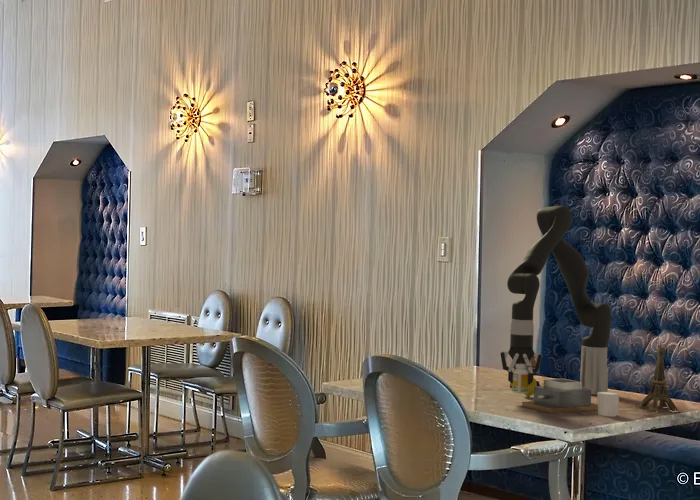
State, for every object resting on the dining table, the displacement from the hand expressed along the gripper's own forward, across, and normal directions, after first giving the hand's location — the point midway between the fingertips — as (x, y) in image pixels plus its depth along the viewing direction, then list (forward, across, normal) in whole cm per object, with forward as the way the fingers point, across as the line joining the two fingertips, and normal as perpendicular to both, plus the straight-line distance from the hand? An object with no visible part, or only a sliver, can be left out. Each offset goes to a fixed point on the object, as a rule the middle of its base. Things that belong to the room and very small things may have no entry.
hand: (520, 383), depth 329 cm
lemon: (+7, -2, -17) cm, 19 cm away
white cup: (+7, -28, +8) cm, 30 cm away
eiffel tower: (+8, -45, -11) cm, 47 cm away
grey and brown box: (+7, -14, +2) cm, 16 cm away
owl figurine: (+8, 0, -39) cm, 40 cm away
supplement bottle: (+3, 0, 0) cm, 3 cm away
